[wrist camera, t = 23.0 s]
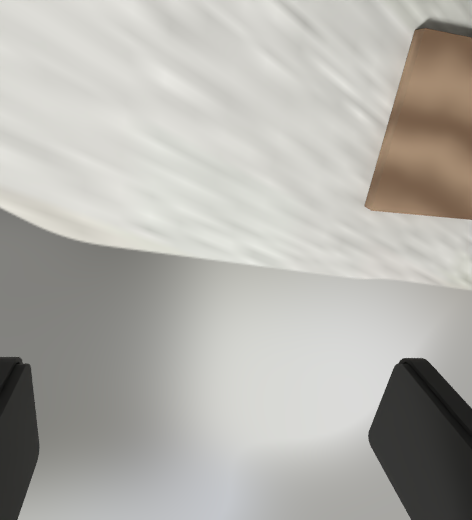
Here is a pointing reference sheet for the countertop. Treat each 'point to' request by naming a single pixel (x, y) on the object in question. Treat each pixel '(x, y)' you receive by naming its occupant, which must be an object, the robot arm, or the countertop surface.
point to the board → (429, 132)
